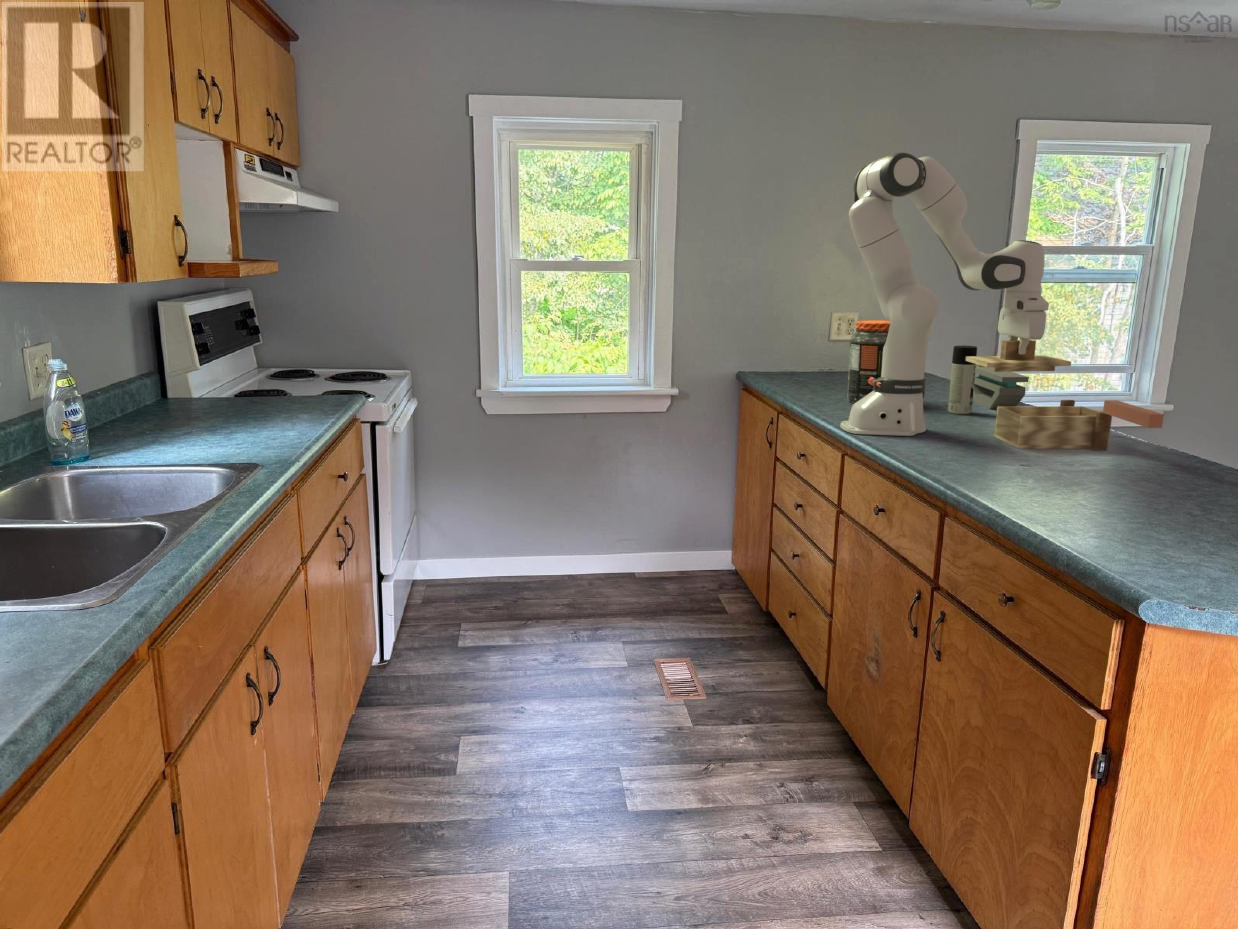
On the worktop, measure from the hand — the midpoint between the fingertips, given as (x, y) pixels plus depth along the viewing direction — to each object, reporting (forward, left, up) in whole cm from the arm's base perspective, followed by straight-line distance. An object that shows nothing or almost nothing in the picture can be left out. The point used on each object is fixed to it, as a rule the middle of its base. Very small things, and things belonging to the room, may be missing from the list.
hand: (1017, 353), depth 233 cm
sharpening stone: (+8, +30, -20) cm, 37 cm away
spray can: (-7, +18, -20) cm, 28 cm away
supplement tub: (-28, +37, -20) cm, 51 cm away
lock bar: (+8, -43, -10) cm, 45 cm away
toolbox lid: (0, 0, -4) cm, 4 cm away
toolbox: (0, -23, -20) cm, 30 cm away
